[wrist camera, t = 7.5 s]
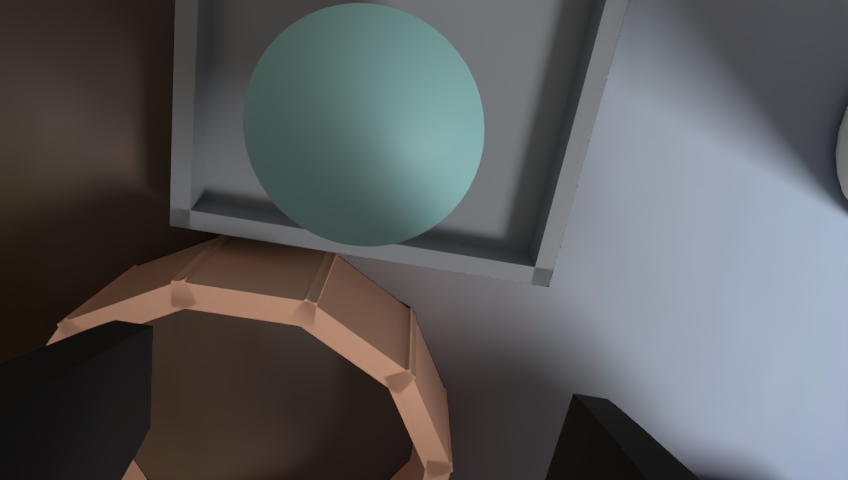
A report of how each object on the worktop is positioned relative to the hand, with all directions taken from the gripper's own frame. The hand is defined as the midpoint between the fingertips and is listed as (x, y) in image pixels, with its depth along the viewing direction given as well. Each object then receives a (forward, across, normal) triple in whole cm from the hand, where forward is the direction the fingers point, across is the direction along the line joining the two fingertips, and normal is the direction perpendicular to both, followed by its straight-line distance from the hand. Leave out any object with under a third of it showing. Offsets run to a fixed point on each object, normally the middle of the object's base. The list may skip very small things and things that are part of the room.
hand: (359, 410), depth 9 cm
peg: (+9, +1, -4) cm, 10 cm away
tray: (+10, +1, -5) cm, 11 cm away
